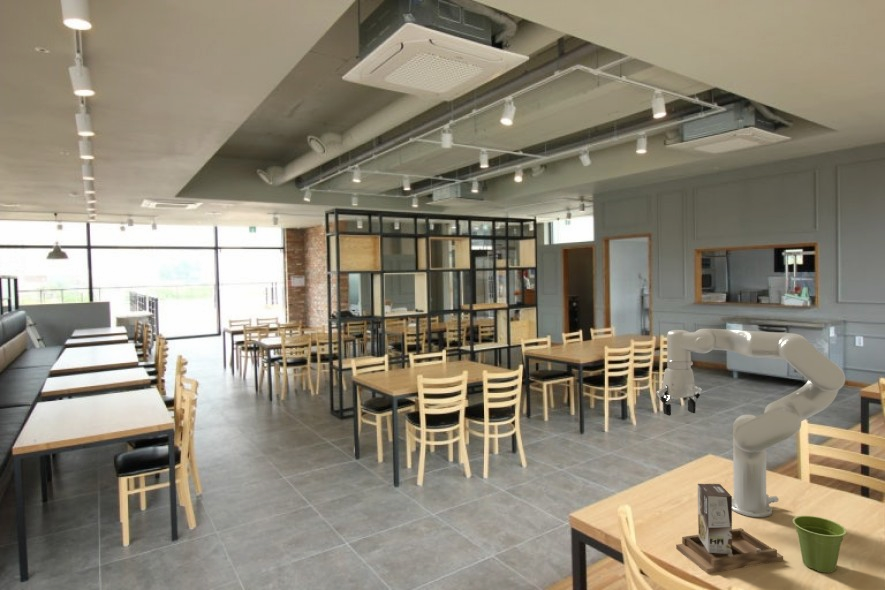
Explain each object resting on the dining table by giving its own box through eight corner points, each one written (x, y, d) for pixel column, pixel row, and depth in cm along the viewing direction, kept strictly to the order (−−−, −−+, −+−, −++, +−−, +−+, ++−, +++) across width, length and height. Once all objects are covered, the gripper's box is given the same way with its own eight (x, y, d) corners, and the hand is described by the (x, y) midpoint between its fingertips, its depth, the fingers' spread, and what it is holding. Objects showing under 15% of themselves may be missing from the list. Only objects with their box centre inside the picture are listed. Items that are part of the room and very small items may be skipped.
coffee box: (733, 554, 144) (732, 496, 143) (708, 553, 145) (707, 495, 144) (721, 537, 153) (720, 483, 152) (697, 536, 154) (697, 482, 153)
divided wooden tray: (747, 537, 158) (746, 524, 158) (783, 560, 146) (783, 546, 145) (676, 548, 154) (676, 535, 153) (707, 573, 141) (707, 558, 141)
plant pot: (858, 574, 138) (858, 532, 138) (820, 581, 136) (820, 538, 135) (817, 551, 150) (817, 512, 149) (782, 557, 147) (782, 518, 147)
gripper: (693, 362, 190) (693, 408, 191) (650, 365, 187) (651, 412, 187) (707, 365, 183) (708, 414, 184) (663, 368, 179) (664, 418, 180)
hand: (679, 413), depth 186 cm, fingers open, 9 cm apart
